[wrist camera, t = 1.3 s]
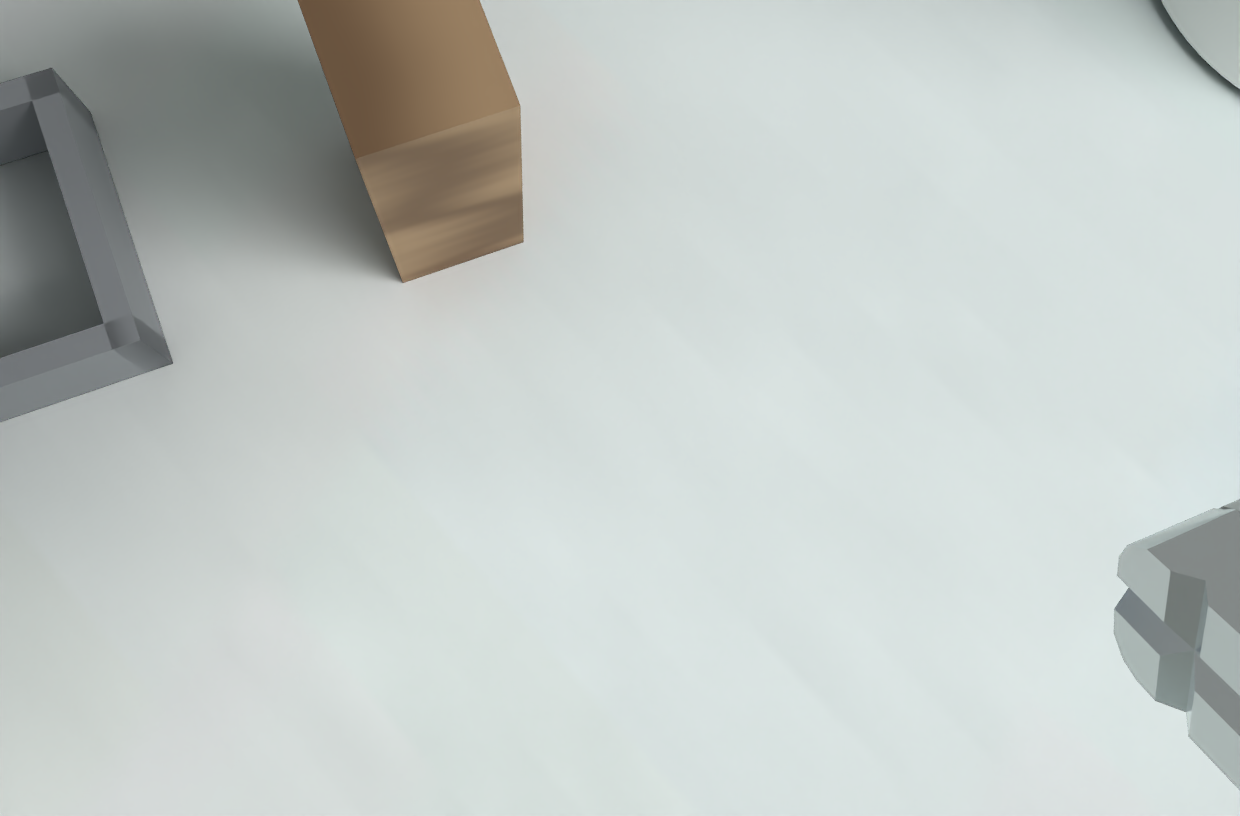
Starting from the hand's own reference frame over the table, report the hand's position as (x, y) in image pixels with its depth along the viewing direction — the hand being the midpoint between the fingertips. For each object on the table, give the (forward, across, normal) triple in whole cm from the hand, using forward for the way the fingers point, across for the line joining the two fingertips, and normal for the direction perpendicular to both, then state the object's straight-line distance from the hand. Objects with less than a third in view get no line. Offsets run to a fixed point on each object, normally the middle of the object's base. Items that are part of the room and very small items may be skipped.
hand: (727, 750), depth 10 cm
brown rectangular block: (+28, -1, +6) cm, 29 cm away
